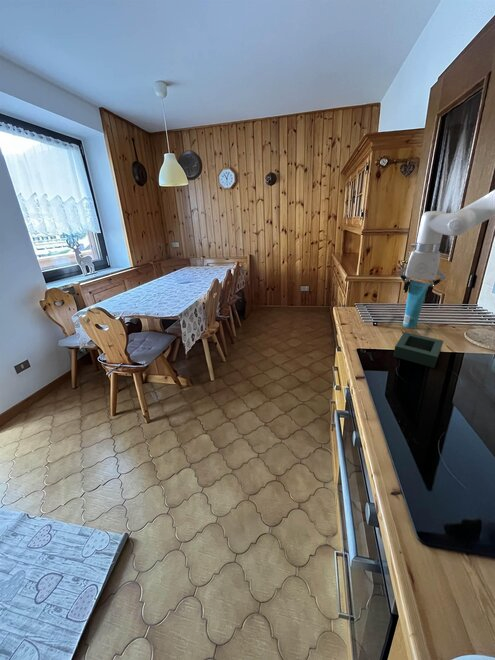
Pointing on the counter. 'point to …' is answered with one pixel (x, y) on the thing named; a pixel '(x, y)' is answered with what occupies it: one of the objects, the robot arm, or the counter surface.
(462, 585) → the counter surface
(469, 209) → the robot arm
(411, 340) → the dark green square tray
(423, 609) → the counter surface
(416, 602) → the counter surface
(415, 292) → the tube
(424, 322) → the counter surface
